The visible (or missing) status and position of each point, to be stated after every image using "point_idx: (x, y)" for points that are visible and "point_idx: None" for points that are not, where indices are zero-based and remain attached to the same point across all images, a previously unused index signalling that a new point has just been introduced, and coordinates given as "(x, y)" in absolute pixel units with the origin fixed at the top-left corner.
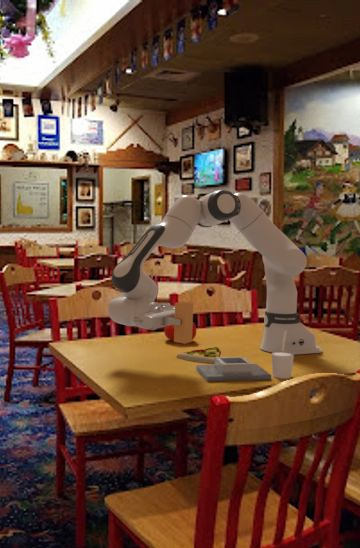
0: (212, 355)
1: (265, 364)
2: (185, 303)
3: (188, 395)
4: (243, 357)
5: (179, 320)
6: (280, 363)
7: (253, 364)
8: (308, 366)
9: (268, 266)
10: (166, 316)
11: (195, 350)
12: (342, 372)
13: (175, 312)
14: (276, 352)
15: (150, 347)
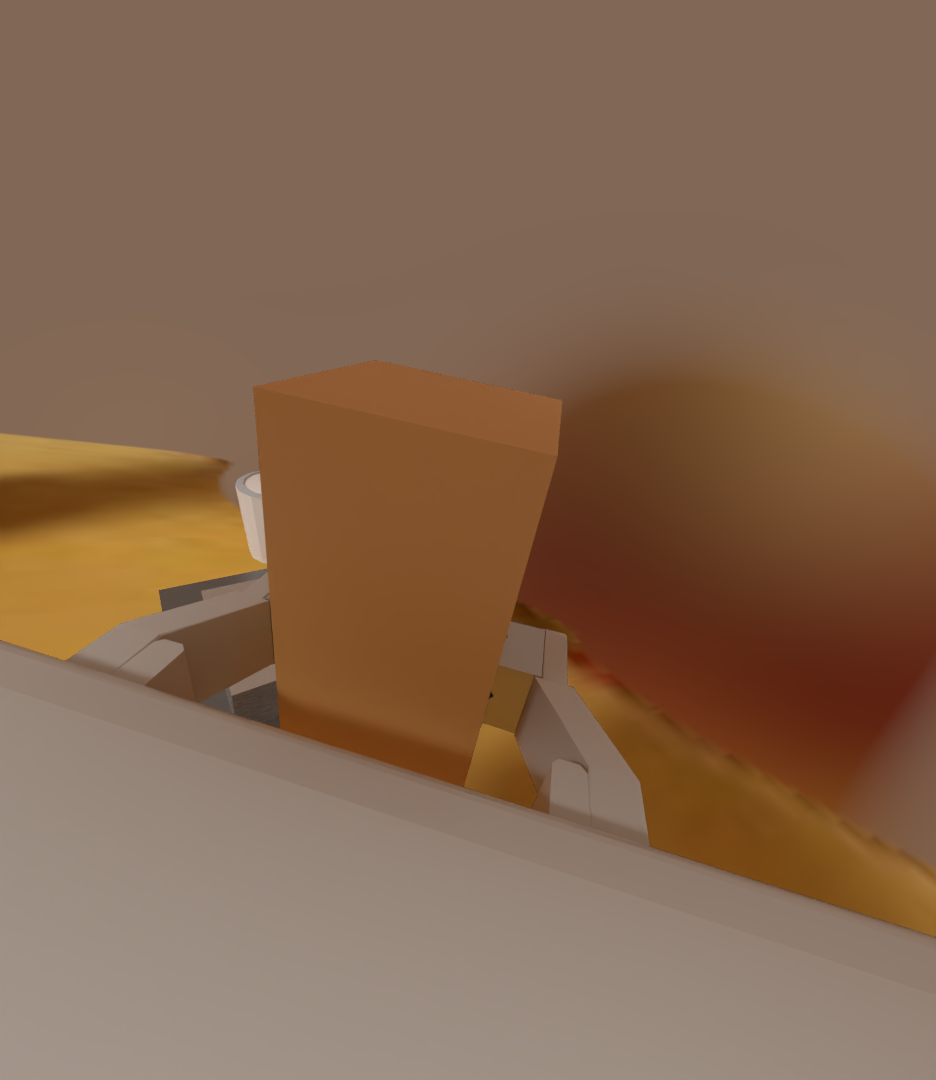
0: None
1: (78, 585)
2: (475, 393)
3: (690, 751)
4: (219, 589)
5: (561, 635)
6: None
7: (173, 597)
8: (133, 502)
9: None
10: (608, 837)
11: None
12: (213, 467)
13: (508, 625)
14: (250, 490)
15: None
